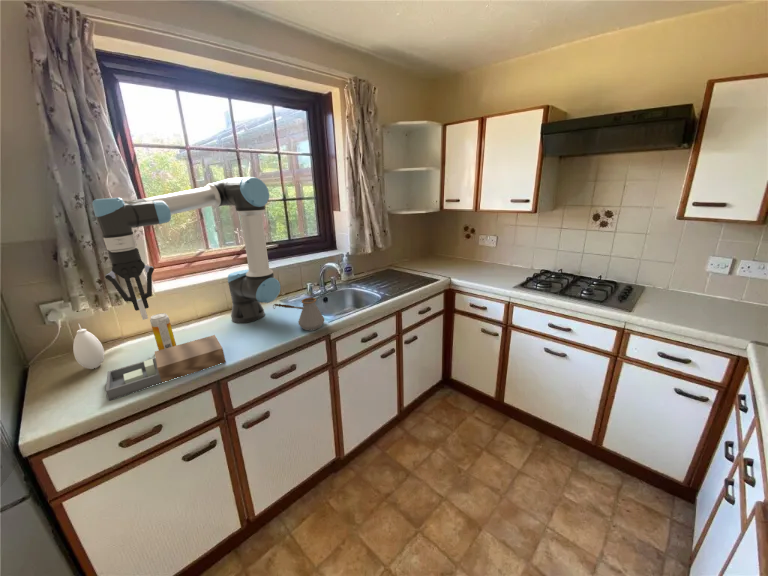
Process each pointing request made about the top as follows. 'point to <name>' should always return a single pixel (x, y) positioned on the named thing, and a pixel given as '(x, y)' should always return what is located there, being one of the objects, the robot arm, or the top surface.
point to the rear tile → (150, 367)
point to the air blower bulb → (87, 349)
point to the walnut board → (189, 358)
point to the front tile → (133, 376)
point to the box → (119, 388)
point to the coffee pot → (308, 314)
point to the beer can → (162, 331)
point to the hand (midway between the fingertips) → (145, 317)
